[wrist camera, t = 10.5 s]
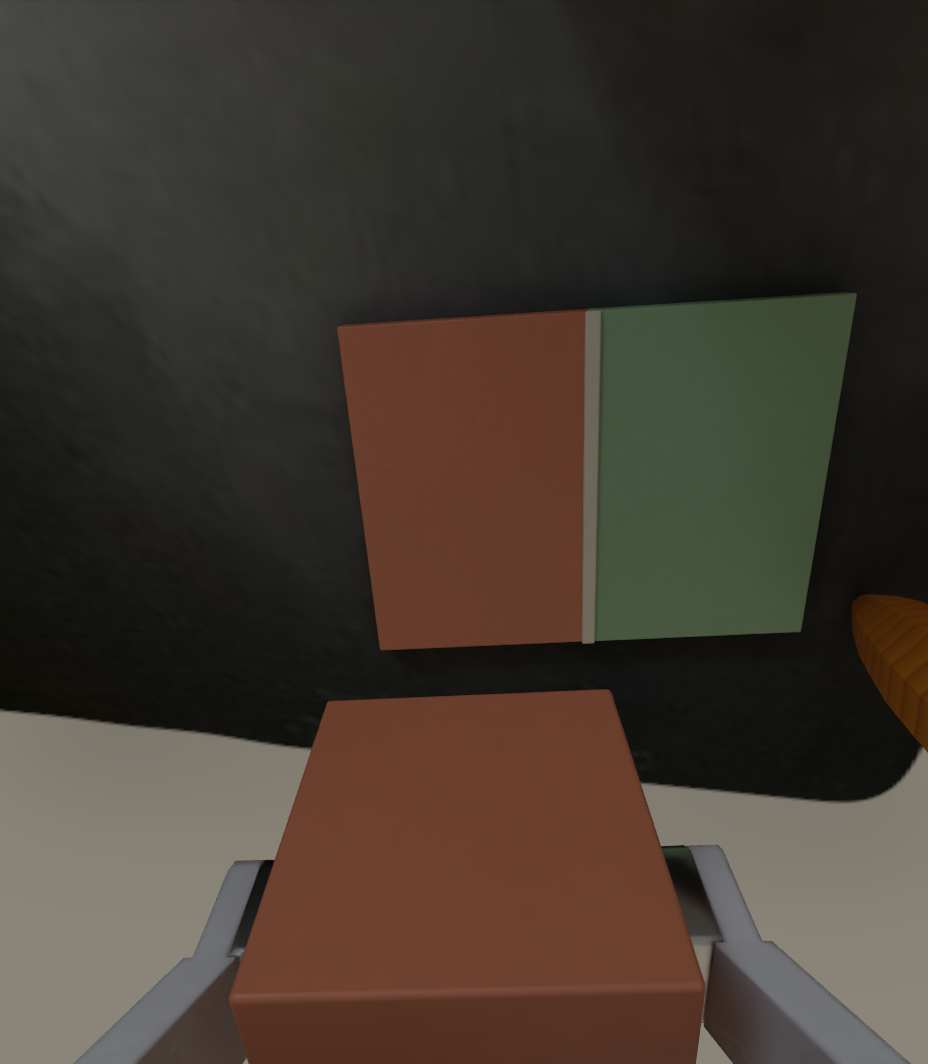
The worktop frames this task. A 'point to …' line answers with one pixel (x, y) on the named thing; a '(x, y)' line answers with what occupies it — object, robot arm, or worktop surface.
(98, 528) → the worktop surface
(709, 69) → the worktop surface
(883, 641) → the carrot
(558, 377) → the mat
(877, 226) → the worktop surface
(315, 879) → the terracotta block
